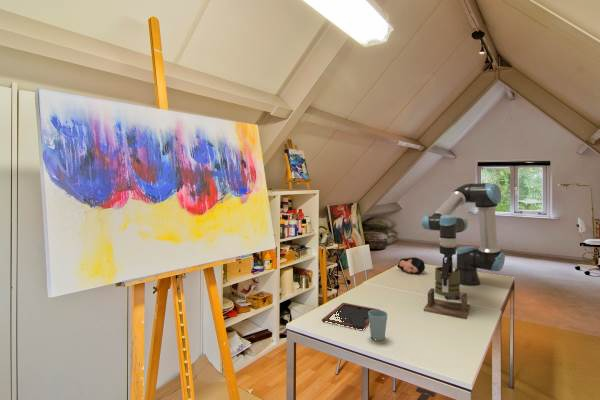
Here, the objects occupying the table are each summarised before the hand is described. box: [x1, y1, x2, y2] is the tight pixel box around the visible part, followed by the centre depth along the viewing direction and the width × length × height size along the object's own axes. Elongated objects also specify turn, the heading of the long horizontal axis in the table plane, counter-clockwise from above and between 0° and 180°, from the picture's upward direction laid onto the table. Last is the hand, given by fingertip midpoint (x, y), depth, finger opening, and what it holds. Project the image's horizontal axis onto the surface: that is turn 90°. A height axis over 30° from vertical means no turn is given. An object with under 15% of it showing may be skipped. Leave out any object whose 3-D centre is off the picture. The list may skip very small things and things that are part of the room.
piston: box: [434, 266, 461, 297], centre depth 165 cm, size 11×12×11 cm
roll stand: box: [423, 287, 471, 320], centre depth 166 cm, size 18×19×8 cm
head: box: [397, 256, 426, 275], centre depth 236 cm, size 12×13×20 cm
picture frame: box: [321, 302, 381, 330], centre depth 157 cm, size 20×2×25 cm
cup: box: [368, 309, 388, 341], centre depth 135 cm, size 8×8×10 cm
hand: (447, 288), depth 165 cm, fingers closed on piston, 11 cm apart
